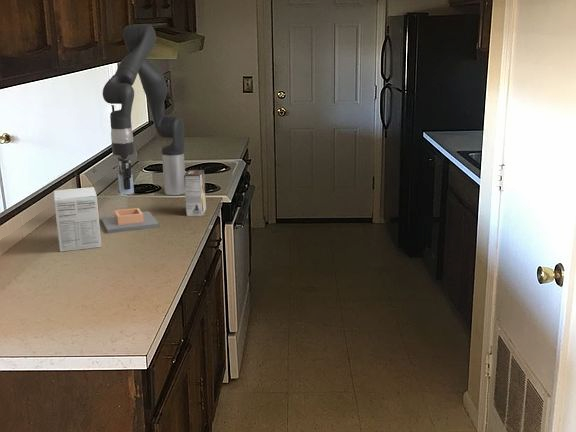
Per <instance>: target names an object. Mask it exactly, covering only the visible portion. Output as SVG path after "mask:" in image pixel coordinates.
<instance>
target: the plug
mask: <svg viewBox="0 0 576 432" xmlns="http://www.w3.org/2000/svg"><path fill="white" fill-rule="evenodd" d="M125 175H128V173H125ZM133 177H134V176H133V170H131V178H130V187H131V188H130V189H127V190H125V189H124V181H123V173H121V170H119V169H117V180H118V190H119V191H118V192H119V193H120V195H129V194H134V193H135V189H134V178H133Z"/></svg>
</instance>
